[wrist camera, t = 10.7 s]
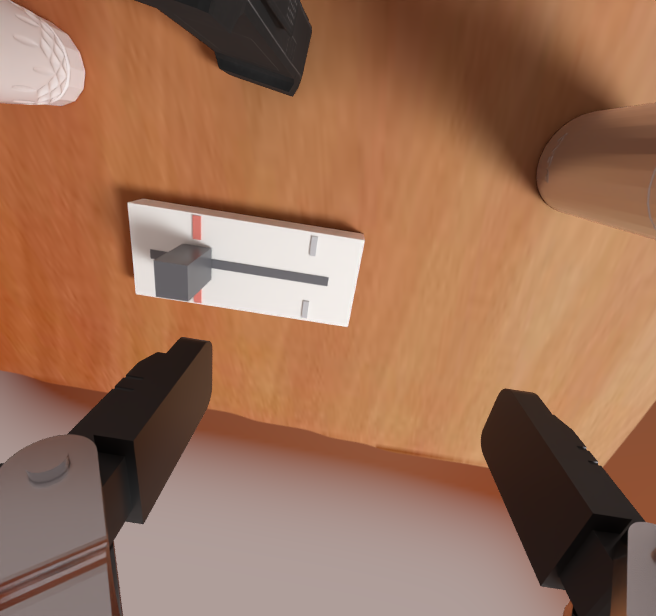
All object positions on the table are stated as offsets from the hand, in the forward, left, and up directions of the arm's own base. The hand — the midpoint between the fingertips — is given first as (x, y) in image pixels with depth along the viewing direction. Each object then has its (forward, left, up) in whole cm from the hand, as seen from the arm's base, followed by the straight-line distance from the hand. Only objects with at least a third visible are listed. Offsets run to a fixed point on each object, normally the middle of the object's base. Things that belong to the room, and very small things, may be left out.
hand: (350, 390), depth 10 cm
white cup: (+30, -9, -30) cm, 44 cm away
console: (+10, +7, -30) cm, 32 cm away
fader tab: (+15, +7, -27) cm, 31 cm away
